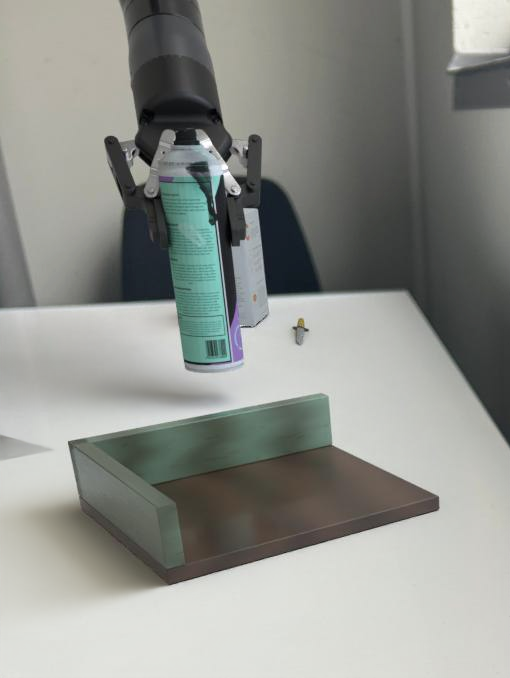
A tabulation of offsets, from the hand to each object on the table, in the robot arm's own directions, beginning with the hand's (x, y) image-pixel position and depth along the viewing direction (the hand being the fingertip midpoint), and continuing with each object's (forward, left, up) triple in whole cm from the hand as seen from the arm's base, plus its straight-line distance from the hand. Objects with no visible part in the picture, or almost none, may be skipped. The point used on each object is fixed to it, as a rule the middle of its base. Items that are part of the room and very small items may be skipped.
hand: (200, 241), depth 89 cm
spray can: (+1, +2, -11) cm, 12 cm away
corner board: (-9, -27, -15) cm, 32 cm away
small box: (+19, +35, -15) cm, 43 cm away
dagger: (+21, +22, -15) cm, 34 cm away
